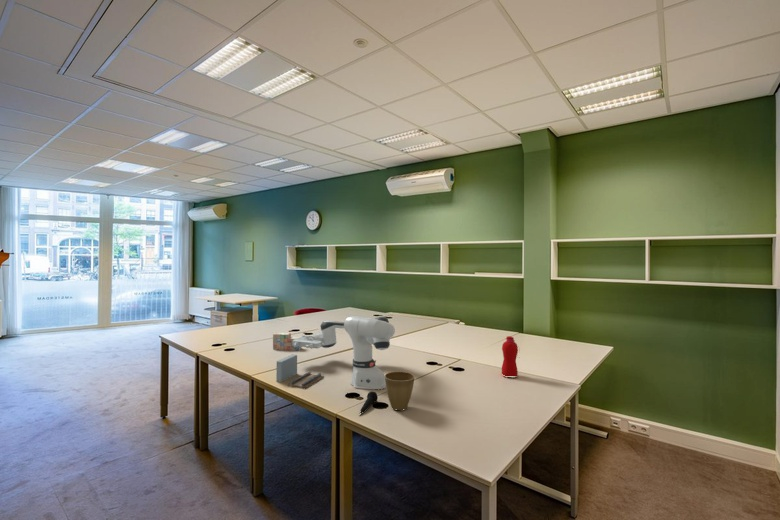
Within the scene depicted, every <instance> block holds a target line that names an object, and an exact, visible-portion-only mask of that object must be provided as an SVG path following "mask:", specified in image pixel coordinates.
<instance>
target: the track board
mask: <svg viewBox="0 0 780 520" xmlns="http://www.w3.org/2000/svg"><path fill="white" fill-rule="evenodd" d="M323 377H324V378H325V376H324V375H322V372H320V373H317V374H315V373H313V374H312V371H308V372H306V373H304V374H301V376H299V377H296V378H295V379H293V380H292V381H290V382H289V383H288V384H287V387H291V386H292V388H299V389H304V388H305V389H308V388H309V387H311V386H313V385H314V384H315V382H316V383H318V382H319V381H320V379H321V380H322V379H324V378H323ZM312 384H313V385H312Z"/></svg>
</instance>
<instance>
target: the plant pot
mask: <svg viewBox="0 0 780 520" xmlns="http://www.w3.org/2000/svg"><path fill="white" fill-rule="evenodd" d="M384 376H385V383H386V387H385V389H386V393H387V398H388V401H389V404H390V407H391V409H392V408H393V409H397V410H403V409H405V410H407V408H408V405H409V403H410V400H411V397H412V393H413V389H414V388H413V387H414V382H415V375H414V374H412V373H411V372H407V371H391V372H388V373H384ZM393 409H392V410H393ZM403 411H404V410H403Z"/></svg>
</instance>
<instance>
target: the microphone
mask: <svg viewBox="0 0 780 520" xmlns="http://www.w3.org/2000/svg"><path fill="white" fill-rule="evenodd" d="M378 398H379V397H378V393H377V392H376V391H369V392H368V393H367V395H366V400H365V402H364V404H362V406H361V409H360V410H359V414H360V413H362V412H364V411H365V410H366V409H367V408H368V407H369V408H370V406H372V404H373V403H375V402H374V401H376V402H377V401H378ZM369 408H368V409H369ZM368 409H367V410H368ZM367 410H366V411H367ZM360 411H361V412H360ZM366 411H365V412H366ZM365 412H364V413H365ZM362 414H363V413H362Z"/></svg>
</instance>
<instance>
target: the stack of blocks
mask: <svg viewBox="0 0 780 520" xmlns="http://www.w3.org/2000/svg"><path fill="white" fill-rule="evenodd" d="M291 334H292V333H290V332H275V333H273V334H272V350H275V349H279V350H280V351H281V350H282V351H300V350H302V348H303V347H300V346H296V347H294V346H293V340H294V339H297V338H301V336H291ZM279 350H278V351H279Z"/></svg>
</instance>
